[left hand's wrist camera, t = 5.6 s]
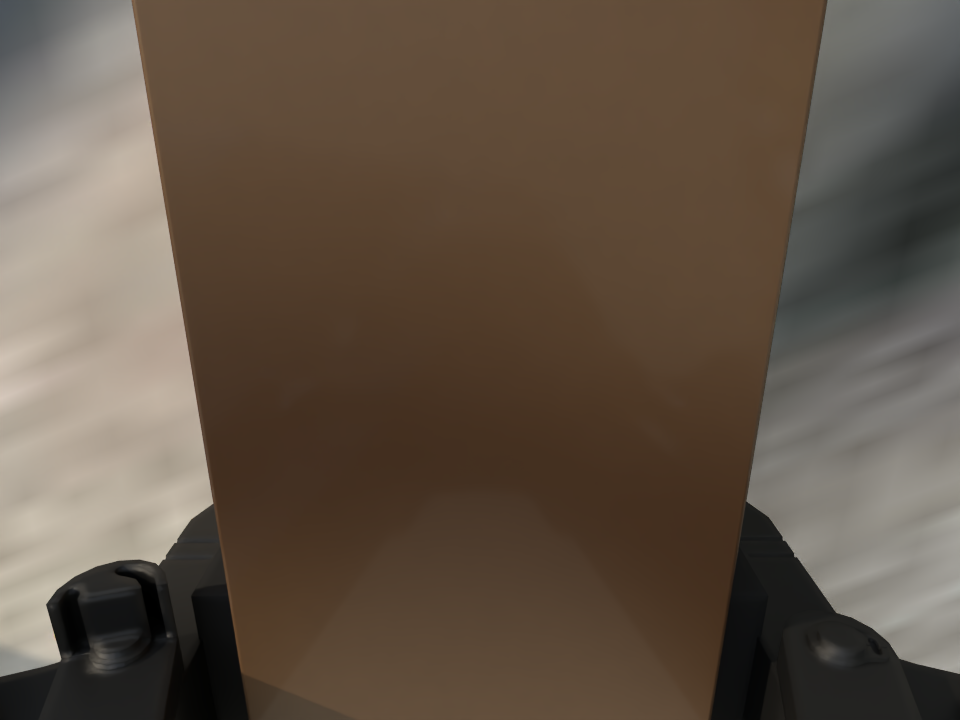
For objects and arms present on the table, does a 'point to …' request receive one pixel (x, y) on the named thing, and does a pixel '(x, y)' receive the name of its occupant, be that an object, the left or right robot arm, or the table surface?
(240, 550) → the bar
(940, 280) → the table surface
